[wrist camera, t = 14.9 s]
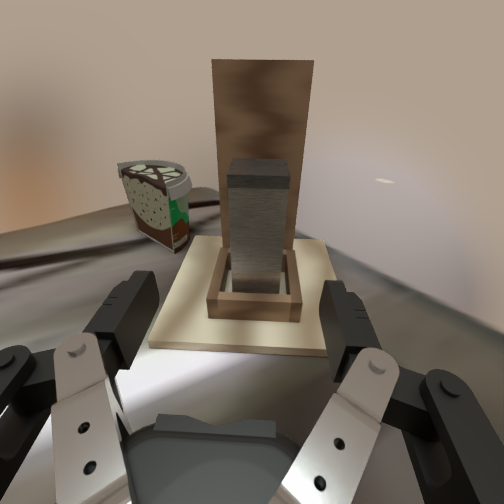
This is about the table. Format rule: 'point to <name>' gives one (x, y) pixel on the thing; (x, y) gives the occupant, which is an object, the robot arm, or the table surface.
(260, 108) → the wooden backboard stand
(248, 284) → the grey rectangular block
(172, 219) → the food container
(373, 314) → the table surface
